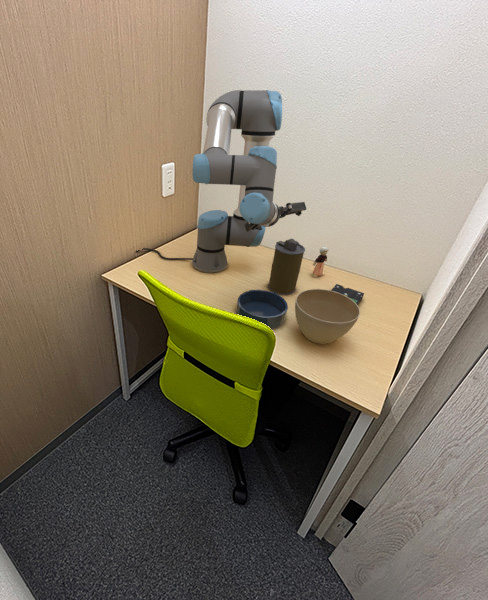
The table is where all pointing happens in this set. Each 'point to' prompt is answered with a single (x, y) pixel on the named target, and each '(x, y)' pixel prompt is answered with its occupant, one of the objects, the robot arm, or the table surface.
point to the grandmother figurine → (320, 262)
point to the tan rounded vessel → (325, 314)
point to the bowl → (263, 307)
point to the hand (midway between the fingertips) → (278, 219)
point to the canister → (286, 267)
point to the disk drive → (349, 293)
